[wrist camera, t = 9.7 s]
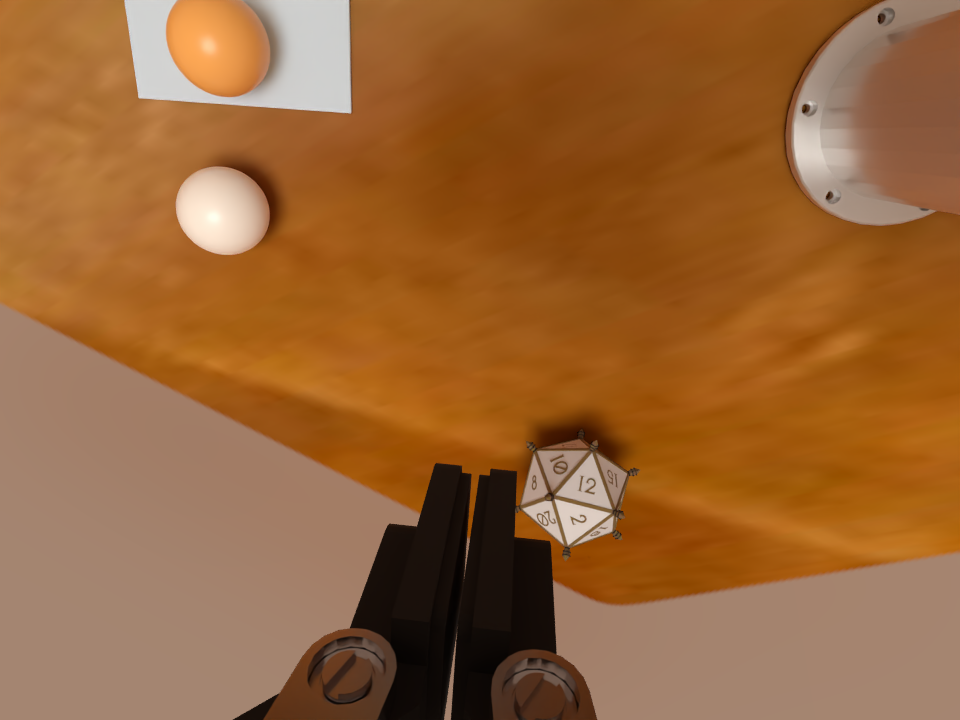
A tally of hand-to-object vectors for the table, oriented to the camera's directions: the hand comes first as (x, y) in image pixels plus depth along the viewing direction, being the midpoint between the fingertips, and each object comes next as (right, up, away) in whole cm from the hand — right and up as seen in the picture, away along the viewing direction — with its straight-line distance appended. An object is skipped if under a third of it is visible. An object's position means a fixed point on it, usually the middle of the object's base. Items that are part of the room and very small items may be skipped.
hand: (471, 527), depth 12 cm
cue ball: (-16, +13, +25) cm, 32 cm away
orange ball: (-15, +22, +21) cm, 34 cm away
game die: (+7, -4, +33) cm, 34 cm away
